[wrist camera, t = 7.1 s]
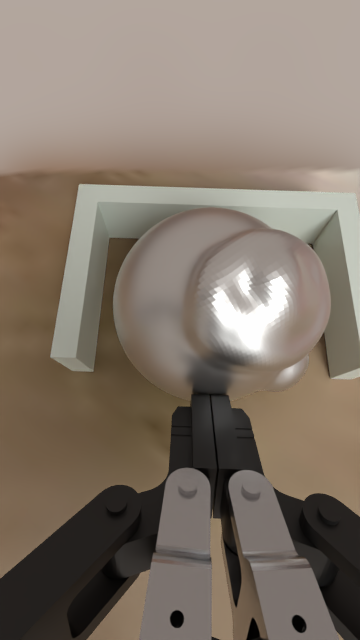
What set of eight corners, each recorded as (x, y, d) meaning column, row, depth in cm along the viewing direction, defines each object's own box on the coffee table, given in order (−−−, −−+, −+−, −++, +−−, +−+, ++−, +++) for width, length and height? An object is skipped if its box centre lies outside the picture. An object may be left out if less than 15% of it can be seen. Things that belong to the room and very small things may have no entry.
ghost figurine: (186, 454, 17) (202, 476, 8) (101, 314, 20) (32, 201, 10) (315, 362, 19) (456, 288, 9) (220, 244, 21) (257, 95, 12)
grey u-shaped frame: (72, 370, 18) (50, 357, 15) (93, 221, 22) (79, 184, 19) (351, 379, 18) (389, 367, 15) (328, 229, 22) (355, 193, 19)
